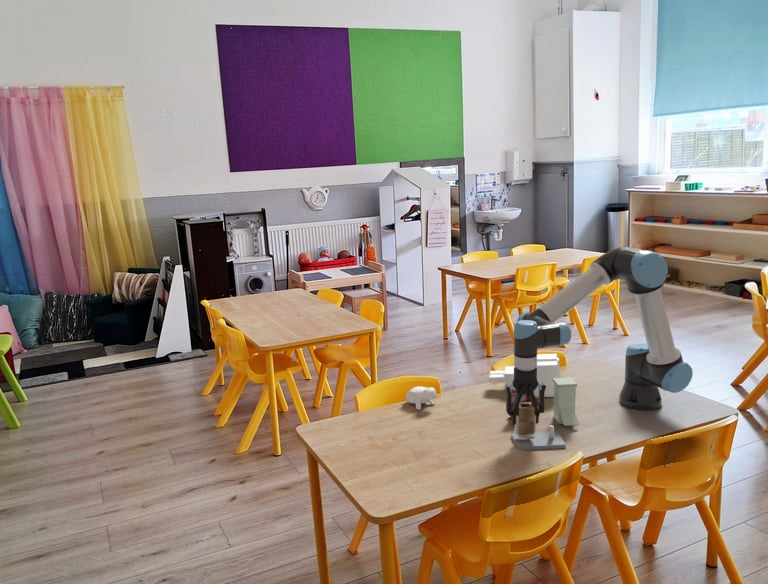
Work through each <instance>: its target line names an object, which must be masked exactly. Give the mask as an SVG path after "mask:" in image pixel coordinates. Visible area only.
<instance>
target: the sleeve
mask: <svg viewBox="0 0 768 584" xmlns="http://www.w3.org/2000/svg"><path fill="white" fill-rule="evenodd" d="M534 412H535V408H534V406H533V405H532V403H531V402H523V403H520V404H519V408H518V411H517V414H518V416H519V435H517V436H518V438H519V439H534Z"/></svg>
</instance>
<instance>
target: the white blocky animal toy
mask: <svg viewBox="0 0 768 584" xmlns="http://www.w3.org/2000/svg"><path fill="white" fill-rule="evenodd" d="M405 398H406V400H405V401H406V403H407V402H408V403H410V404H414V405H415V409H416V410H417V409H418V411H420V410H421V409H422V405H423V404H426V403H427V402H428V403H429V404H430V405H432V406H435V405H436V402H435V401H434V400H435V399H436V398H437V392H436V389H435V388H434V387H431V386H430V387H425V386H414V387H412V388H411V389H409V390H408V391H407V392H406V395H405Z"/></svg>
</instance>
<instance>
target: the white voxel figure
mask: <svg viewBox="0 0 768 584" xmlns="http://www.w3.org/2000/svg"><path fill="white" fill-rule="evenodd" d="M557 356H558V355H557V353H540V354H538V353H537V367H536V368H537V381H538V383H544V384H545V385H546V389H545V392H544V398H554V382H553V378H561V367H560V358H559V357H557ZM514 367H515V366H514V365H512V366H511V365H510V366H509V365H507V366H505V367H504V370H490V372H489V378H488V380H489V384H495V383H496V384H497V383H504V386H505V385H506V384H507V385H510V384H512V382H513V380H514ZM513 391H517V390H516V389H515V388H514V387H513ZM533 392H534V395H535V397H536V398H539V389H538V386H537V387H536V389H535V390H534V391H533Z"/></svg>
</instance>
